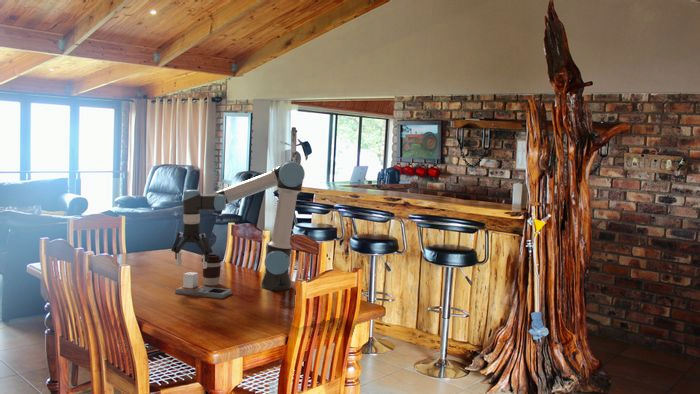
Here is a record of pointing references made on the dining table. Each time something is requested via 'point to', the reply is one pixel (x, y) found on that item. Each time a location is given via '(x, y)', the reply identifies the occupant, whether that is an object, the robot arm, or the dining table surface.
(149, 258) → the dining table surface
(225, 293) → the grey tray
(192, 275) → the block
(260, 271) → the dining table surface
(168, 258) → the dining table surface
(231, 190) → the robot arm
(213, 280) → the coffee cup
